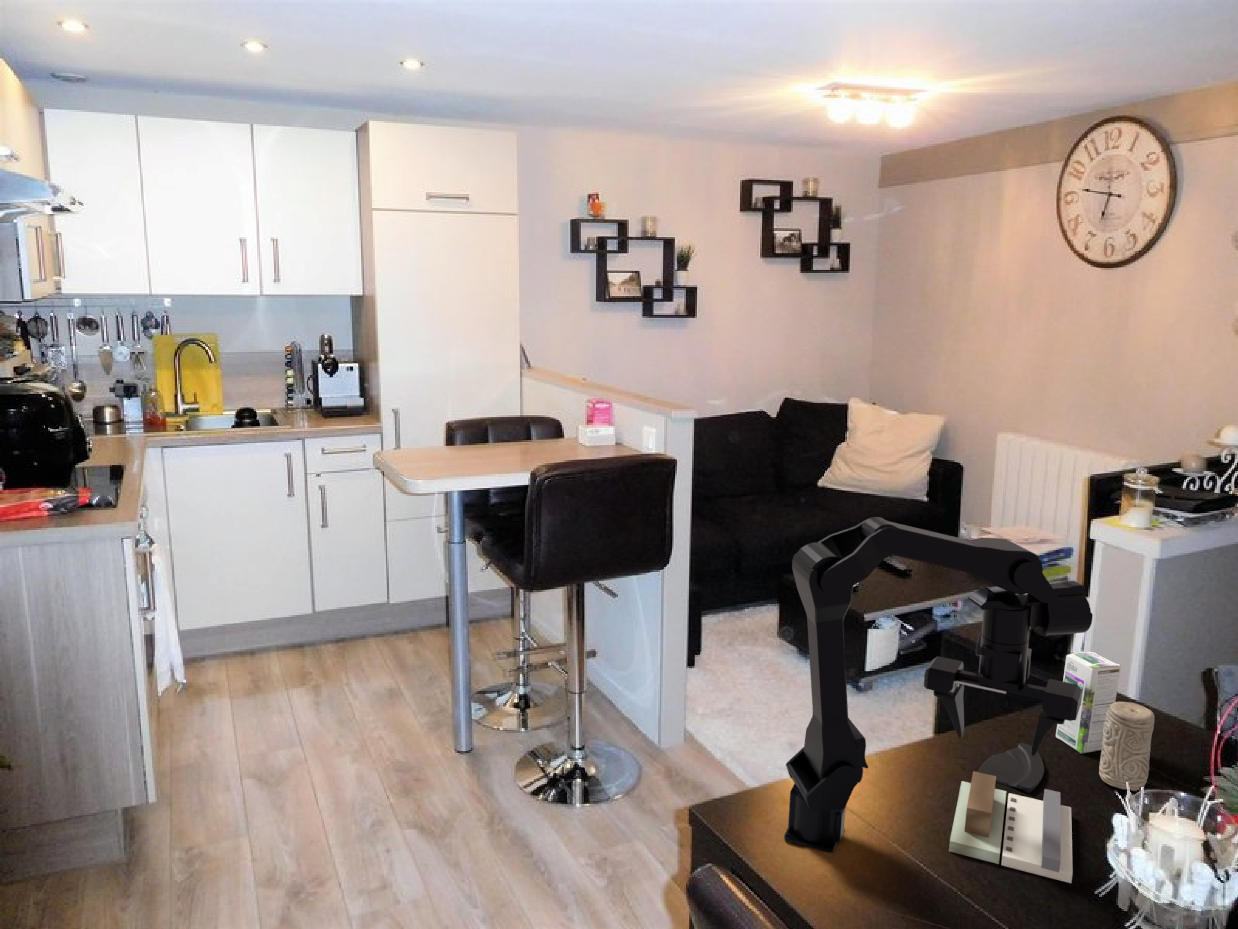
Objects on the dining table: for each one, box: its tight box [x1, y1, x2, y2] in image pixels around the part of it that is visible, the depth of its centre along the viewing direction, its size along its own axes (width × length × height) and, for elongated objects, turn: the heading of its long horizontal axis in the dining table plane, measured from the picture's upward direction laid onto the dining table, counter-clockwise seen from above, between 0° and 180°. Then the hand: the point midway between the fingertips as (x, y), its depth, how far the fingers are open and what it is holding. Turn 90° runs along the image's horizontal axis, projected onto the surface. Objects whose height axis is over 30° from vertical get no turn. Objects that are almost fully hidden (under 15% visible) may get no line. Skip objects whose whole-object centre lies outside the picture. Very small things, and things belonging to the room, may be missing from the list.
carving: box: [1098, 701, 1155, 792], centre depth 135 cm, size 6×8×12 cm
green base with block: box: [948, 770, 1007, 865], centre depth 124 cm, size 6×16×5 cm, turn 155°
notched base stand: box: [1001, 788, 1074, 884], centre depth 122 cm, size 8×17×3 cm, turn 155°
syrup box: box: [1055, 651, 1121, 754], centre depth 146 cm, size 6×6×14 cm
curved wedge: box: [976, 741, 1045, 794], centre depth 140 cm, size 8×14×2 cm, turn 137°
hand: (996, 745), depth 124 cm, fingers open, 9 cm apart
